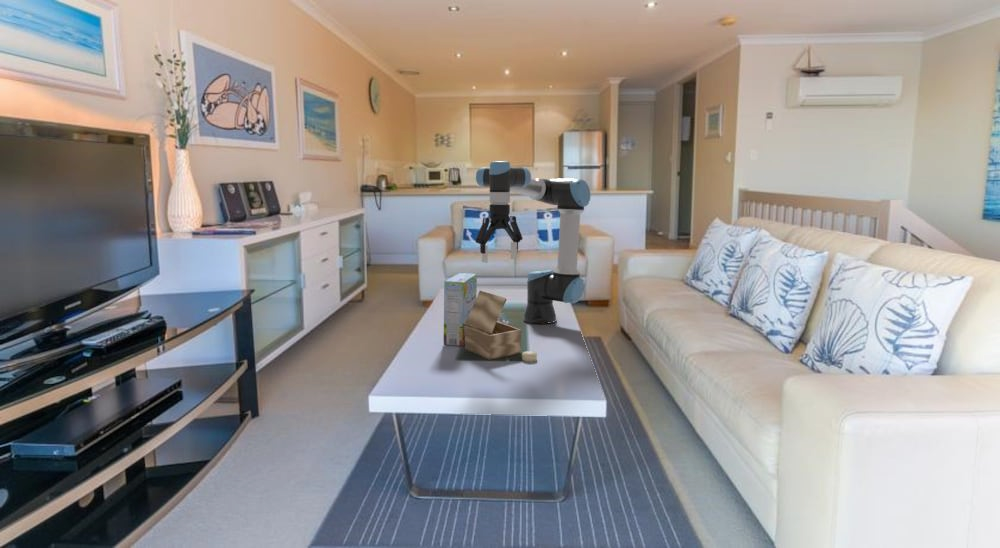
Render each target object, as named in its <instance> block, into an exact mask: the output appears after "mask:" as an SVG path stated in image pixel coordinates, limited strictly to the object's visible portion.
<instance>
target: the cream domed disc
mask: <svg viewBox="0 0 1000 548" xmlns="http://www.w3.org/2000/svg"><path fill="white" fill-rule="evenodd" d="M521 353H522V354H521V357H522V358H521V359H522V361H523V362H524V363H525V362H526V363H533V362H536V361H537V358H538V357H537V356H538V355H537V354H538V353H537V352H536V351H531V350H529V351H528V350H526V351H523V352H521Z"/></svg>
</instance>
